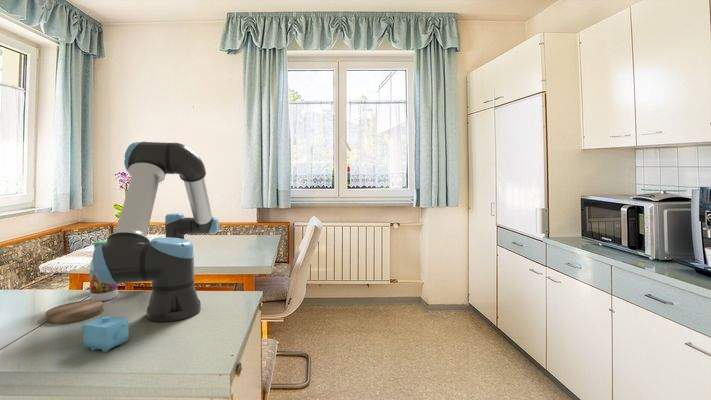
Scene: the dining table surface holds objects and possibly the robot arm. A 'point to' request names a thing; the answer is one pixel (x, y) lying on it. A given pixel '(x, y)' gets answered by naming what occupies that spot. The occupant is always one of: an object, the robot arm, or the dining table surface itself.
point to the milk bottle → (101, 284)
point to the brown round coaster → (74, 311)
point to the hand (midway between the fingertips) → (115, 264)
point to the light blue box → (105, 333)
